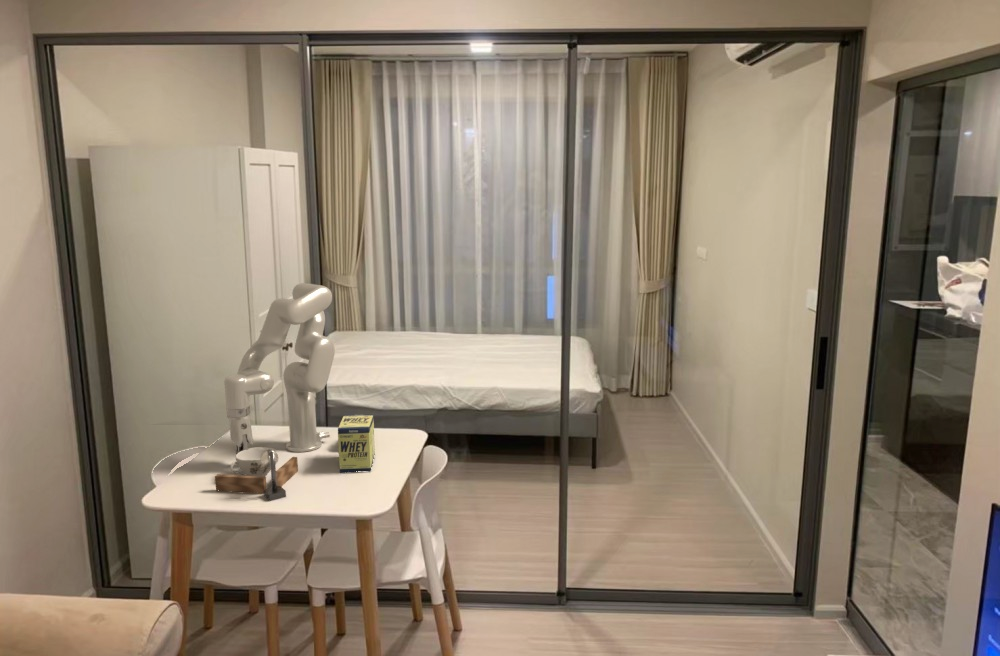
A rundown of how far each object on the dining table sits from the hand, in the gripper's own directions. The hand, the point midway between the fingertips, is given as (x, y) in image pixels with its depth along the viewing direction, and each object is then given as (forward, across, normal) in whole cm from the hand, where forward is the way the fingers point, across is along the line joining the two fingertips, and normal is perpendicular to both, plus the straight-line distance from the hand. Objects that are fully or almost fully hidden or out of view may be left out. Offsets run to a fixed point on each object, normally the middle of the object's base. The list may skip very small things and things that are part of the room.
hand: (242, 463), depth 243 cm
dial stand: (+1, -31, 0) cm, 31 cm away
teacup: (+1, -11, 0) cm, 11 cm away
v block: (+1, -21, 0) cm, 21 cm away
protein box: (+1, -22, -32) cm, 39 cm away
